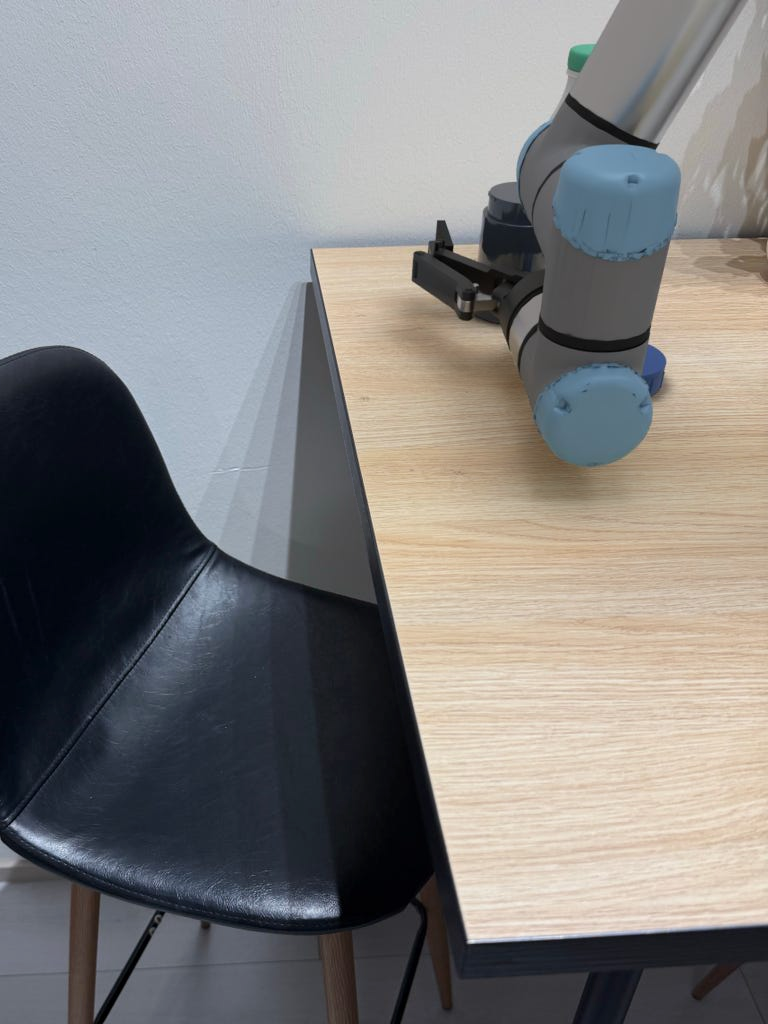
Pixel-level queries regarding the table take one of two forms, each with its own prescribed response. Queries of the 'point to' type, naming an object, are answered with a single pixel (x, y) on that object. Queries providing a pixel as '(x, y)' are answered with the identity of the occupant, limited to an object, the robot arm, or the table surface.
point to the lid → (654, 369)
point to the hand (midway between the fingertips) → (510, 234)
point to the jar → (507, 236)
